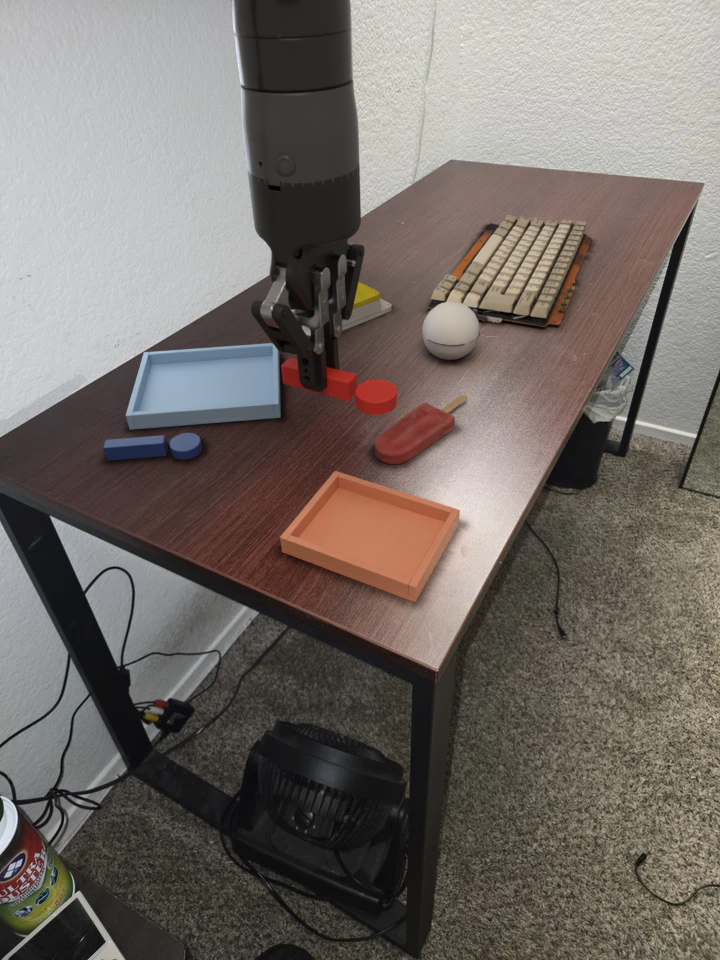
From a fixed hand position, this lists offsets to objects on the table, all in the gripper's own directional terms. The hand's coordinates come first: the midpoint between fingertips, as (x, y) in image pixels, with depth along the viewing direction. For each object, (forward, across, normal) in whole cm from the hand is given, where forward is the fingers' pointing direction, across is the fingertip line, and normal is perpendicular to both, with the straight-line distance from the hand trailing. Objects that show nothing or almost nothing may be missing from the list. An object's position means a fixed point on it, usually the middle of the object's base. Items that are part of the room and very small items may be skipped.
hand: (320, 381), depth 55 cm
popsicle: (+15, -16, +4) cm, 22 cm away
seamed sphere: (+15, -32, +1) cm, 36 cm away
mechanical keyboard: (+15, -62, 0) cm, 64 cm away
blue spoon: (+15, 0, -22) cm, 26 cm away
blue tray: (+15, -13, -24) cm, 31 cm away
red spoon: (+1, 0, +2) cm, 2 cm away
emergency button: (+15, -37, -19) cm, 44 cm away
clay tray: (+15, +2, +5) cm, 16 cm away
